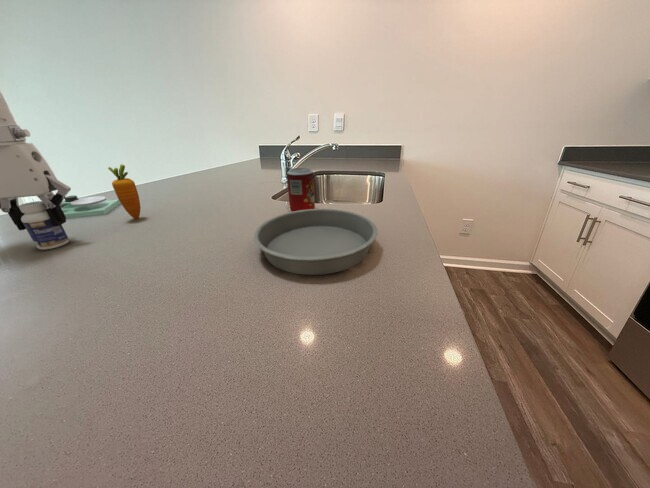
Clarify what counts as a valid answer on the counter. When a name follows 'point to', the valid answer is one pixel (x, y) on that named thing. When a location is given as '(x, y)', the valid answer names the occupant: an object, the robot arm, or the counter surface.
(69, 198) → the tare button
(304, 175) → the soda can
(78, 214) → the scale
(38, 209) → the pill bottle
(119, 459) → the counter surface
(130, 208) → the carrot
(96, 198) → the weighing plate
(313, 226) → the cake pan
